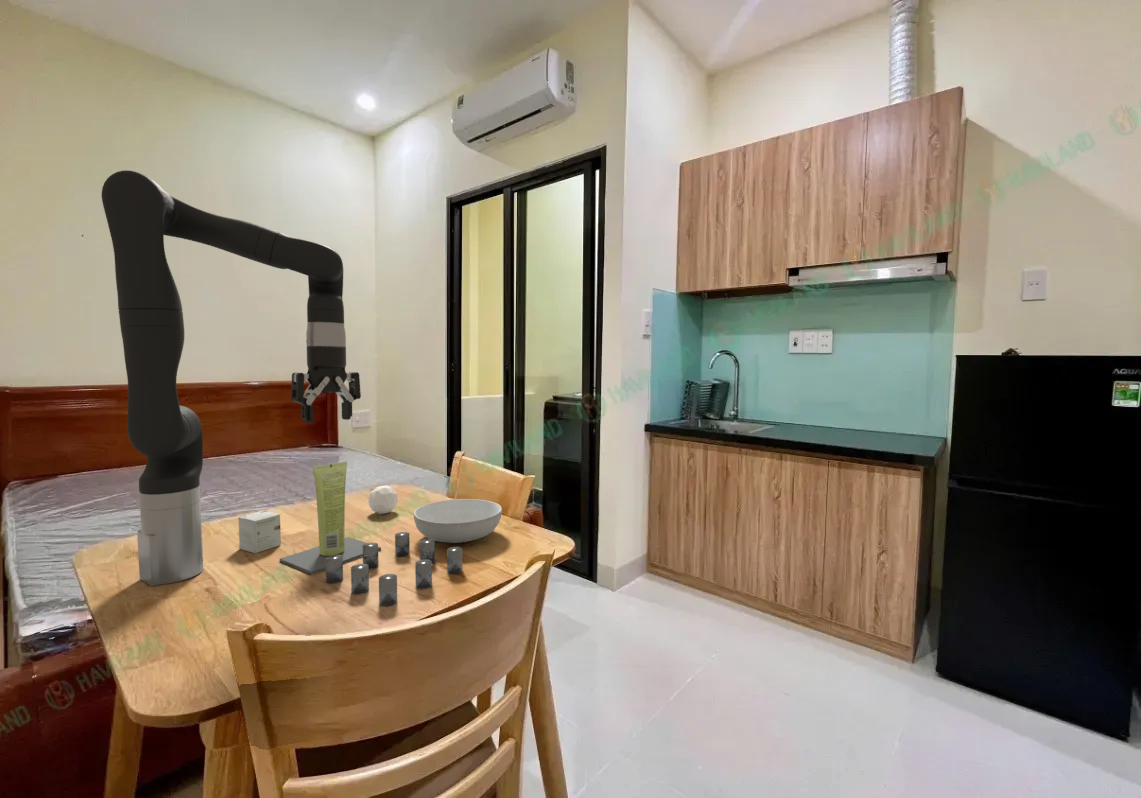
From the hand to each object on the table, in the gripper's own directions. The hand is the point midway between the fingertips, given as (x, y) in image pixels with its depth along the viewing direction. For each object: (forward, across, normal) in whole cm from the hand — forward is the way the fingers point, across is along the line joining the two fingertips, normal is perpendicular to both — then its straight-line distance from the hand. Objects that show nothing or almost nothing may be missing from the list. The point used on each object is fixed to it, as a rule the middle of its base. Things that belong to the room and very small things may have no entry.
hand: (328, 421), depth 109 cm
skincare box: (+30, -6, +17) cm, 35 cm away
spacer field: (+29, +1, -21) cm, 36 cm away
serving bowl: (+30, +24, -14) cm, 41 cm away
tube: (+29, 0, 0) cm, 29 cm away
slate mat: (+29, 0, -1) cm, 29 cm away
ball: (+30, +26, +16) cm, 43 cm away
